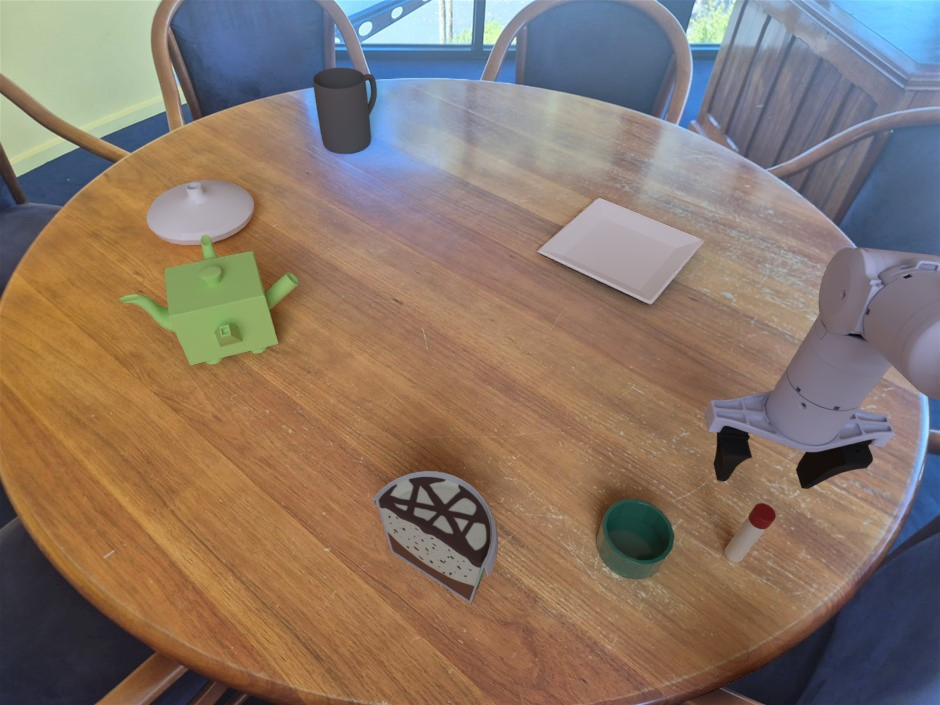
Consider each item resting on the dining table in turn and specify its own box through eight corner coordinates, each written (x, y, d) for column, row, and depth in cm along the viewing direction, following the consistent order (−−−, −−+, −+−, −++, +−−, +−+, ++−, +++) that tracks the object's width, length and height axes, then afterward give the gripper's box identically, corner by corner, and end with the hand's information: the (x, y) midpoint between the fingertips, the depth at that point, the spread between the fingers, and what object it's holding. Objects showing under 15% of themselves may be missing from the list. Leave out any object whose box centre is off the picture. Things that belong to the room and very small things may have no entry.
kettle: (147, 358, 78) (112, 291, 70) (218, 290, 87) (194, 223, 79) (248, 394, 74) (224, 327, 66) (311, 319, 84) (296, 252, 75)
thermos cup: (678, 562, 61) (688, 546, 59) (621, 591, 59) (629, 575, 57) (638, 506, 65) (646, 489, 63) (583, 530, 63) (589, 514, 61)
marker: (747, 558, 62) (780, 517, 56) (732, 566, 61) (764, 525, 55) (734, 542, 63) (765, 499, 57) (719, 549, 62) (749, 507, 56)
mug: (348, 160, 112) (340, 94, 103) (312, 144, 115) (300, 79, 106) (396, 131, 120) (392, 67, 111) (361, 117, 123) (354, 55, 114)
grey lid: (136, 221, 98) (119, 181, 92) (230, 187, 105) (219, 148, 100) (178, 270, 90) (162, 230, 84) (276, 230, 97) (267, 190, 92)
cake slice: (516, 559, 61) (526, 509, 54) (484, 613, 57) (489, 566, 50) (415, 498, 65) (411, 444, 58) (379, 544, 62) (369, 492, 54)
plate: (535, 261, 93) (536, 250, 92) (596, 206, 104) (598, 195, 102) (647, 314, 86) (651, 303, 84) (701, 250, 96) (705, 239, 95)
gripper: (901, 352, 50) (826, 446, 60) (720, 337, 51) (676, 433, 61) (938, 421, 46) (850, 512, 56) (738, 404, 46) (687, 497, 56)
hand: (760, 475), depth 58 cm, fingers open, 7 cm apart
